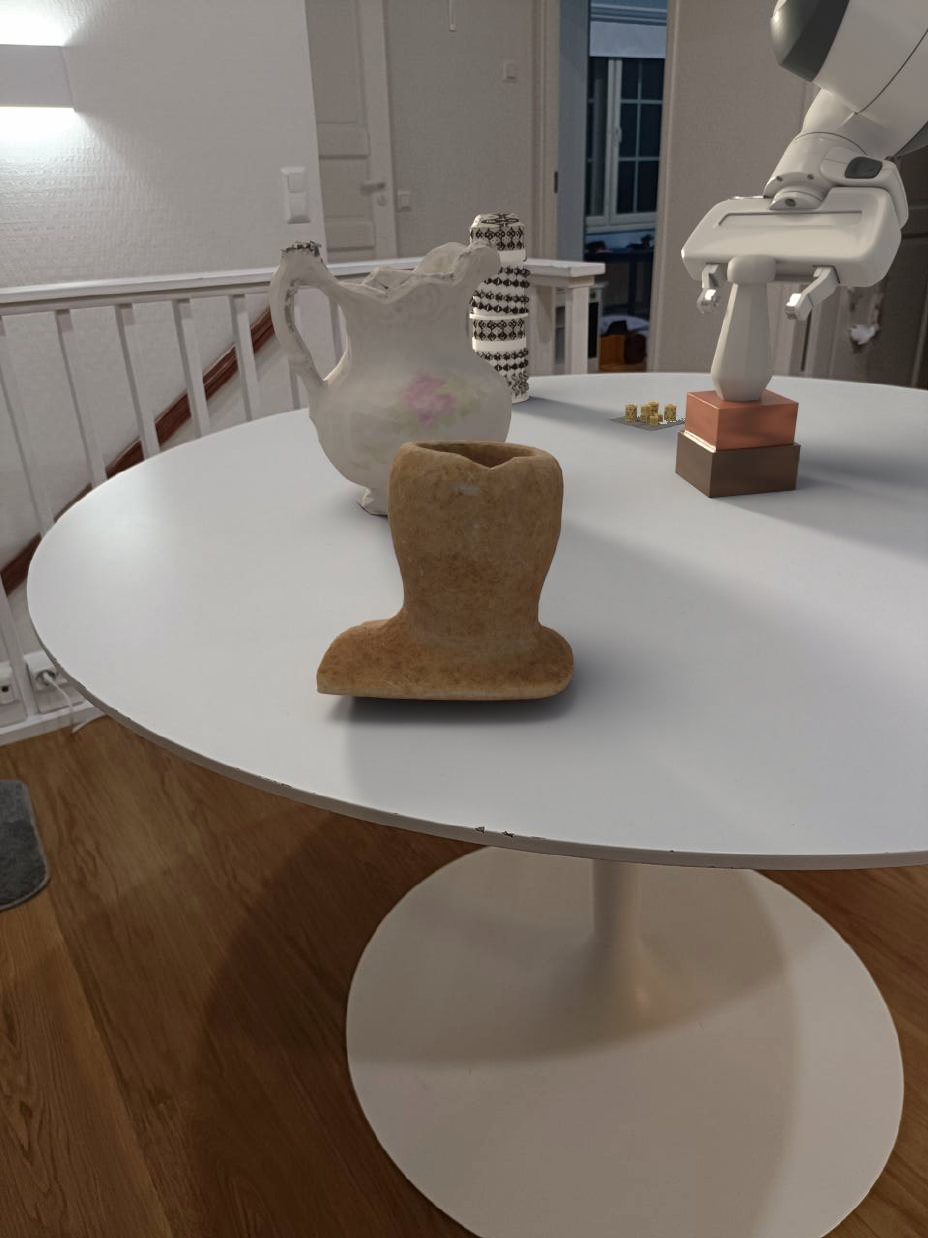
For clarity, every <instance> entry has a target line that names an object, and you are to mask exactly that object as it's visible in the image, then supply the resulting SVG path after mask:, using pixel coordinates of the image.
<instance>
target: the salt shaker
mask: <svg viewBox="0 0 928 1238" xmlns="http://www.w3.org/2000/svg"><path fill="white" fill-rule="evenodd" d="M775 273H776V261H775V260H774V259H773V257H771V256H768V255H762V254H751V255H741V256H737V257H734V258H733V259H732V260H731V261H730V262H729V265H728V269H727V278H728V281H727V282H729V283H732V286H731V290H730V294H729V298H728V303H727V306H726V310H725V315H724V318H723V321H722V325H721V330H720V333H719V337H718V341H717V344H716V348H715V353H714V356H713V360H712V363H711V368H710V377H711V380H712V383H713V386H714V388H715V389H714V390H716V392H717V395H718V397H720V398H721V399H723V400H730V401H741V402H743V401H752V400H759V398H760V396H761V394H762V393H763V391H764V390H765V389H766V388H767V386H768V385H769V383H770V381H771V380H772V379H773V375H774V366H773V354H772V353H773V352H772V342H771V341H772V340H771V332H770V331H771V330H770V317H769V300H768V284H769V283H768V282H770V281H773V280H774V277H775Z"/></svg>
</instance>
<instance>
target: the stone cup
mask: <svg viewBox="0 0 928 1238" xmlns="http://www.w3.org/2000/svg"><path fill="white" fill-rule="evenodd" d="M564 483H565V482H564V476H563V469H562V467H561V465H560V463H559V460H557V458H556V457H555V456H554V455H552V454H551V453H550V452H548V451H546V450H544V449H541V448H538V447H535V446H530V445H525V444H520V443H514V442H506V441H505V442H494V441H466V440H455V441H442V440H435V441H428V442H427V441H412V442H407V443H405V444H403V445H402V446H400V447H399V448H398V450H397V452H396V454H395V456H394V458H393V461H392V465H391V468H390V472H389V477H388V484H387V512H388V515H387V520H388V525H389V526H388V527H389V530H390V535H391V540H392V545H393V551H394V554H395V558H396V561H397V565H398V568H399V573H400V577H401V581H402V589H403V590H402V591H403V602H402V606H401V608H400V609H399V610H398V612H397V613H396V614H395V615H393V616H392V617H390V618H383V619H374V620H366V621H363V622H361V624H359V625H354V626H350V627H349V628H347V629H346V630H344V631H342V632H340V633H339V634H338V635H337V636H336V637H335V638H334V639H333V641H332V642H331V643H330V645H329V647H328V648H327V650H326V651H325V653H323V656H322V659H321V661H320V663H319V666H318V668H317V670H316V676H315V678H316V692H318V693H319V694H322V695H331V696H344V697H345V696H346V697H361V698H365V697H366V698H381V699H401V700H402V699H403V700H404V699H405V700H427V701H428V700H432V701H433V700H435V701H514V700H535V699H542V698H543V699H544V698H548V697H553V696H555V695H557V694H559V693H560V692H562V691H564V690H565V689H566V688H567V686H568V685H569V683H570V681H571V679H572V677H573V675H574V671H575V657H574V653H573V649H572V646H571V644H570V643H569V642H568V641H567V639H565V637H564V636H563V635H562V634H560V633H559V632H558V631H556V630H554V629H552V628H550V627H547V626H545V625H542V624H541V622H540V619H539V608H540V601H541V594H542V591H543V588H544V585H545V582H546V579H547V576H548V574H549V572H550V569H551V566H552V563H553V560H554V557H555V554H556V551H557V549H558V548H557V547H558V544H559V540H560V535H561V531H562V519H563V518H562V516H563V515H562V514H563V504H564V491H565V490H564V488H565V487H564V486H565V485H564Z"/></svg>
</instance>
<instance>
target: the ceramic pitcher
mask: <svg viewBox="0 0 928 1238" xmlns="http://www.w3.org/2000/svg"><path fill="white" fill-rule="evenodd" d="M322 246H323V245H322V244H321V243H318V242H314V241H312V240H309V242H306V241H305V242H302V241H299V240H296V241H295V243H294V244H292V242H287V247H286V248H285V249H284V248H283V249H282V248H281V249H280V251H281V256H280V259H279V263H278V265H277V267H276V268H275V270H274V272H273V273H272V275H271V277H270V283H269V288H268V301H269V309H270V317H271V322H272V326H273V330H274V335H275V338H276V340H277V342H278V343H279V345H280V347H281V349H282V351H283V353H284V355H285V358H286V359H287V361H288V363H289V365H290V367H291V369H292V371H293V372H294V374H296V375H297V376H298V378H300V380H301V382H302V384H303V385H304V388H305V391H306V399H307V407H308V418H309V419H310V421H311V422H312V424H313V426H314V427H315V430H316V435H317V439H318V443H319V444H320V446H321V448H322V451H323V453H324V454H325V456H326V458H327V460H328V461H329V462H330V463H331V464H332V465H333V467H334V468H335V469H336V470H337V471H338V473H339V474H340V475H341V476H342V477H343V478H345V480H347V481H349V482H351V483H354V484H355V485H358V486H361V487H365V488H367V489H366V491H365V493H364V495H363V496H362V497H360V499H358V500H357V502H358V504H359V505H360V506H361V507H362V508H363V509H364V510H365V511H366V512H367V513H368V514H371V515H381V516H388V512H387V484H388V477H389V472H390V468H391V465H392V461H393V458H394V456H395V454H396V452H397V450H398V448H399V447H400V446H402V445H403V444H405V443H407V442H412V441H427V442H428V441H435V440H442V441H455V440H466V441H494V442H505V443H506V442H507V438H508V434H509V431H510V427H511V420H512V414H513V413H512V412H513V411H512V410H513V403H512V397H511V391H510V389H509V386H508V384H507V381H506V379H505V378H504V377H503V376H502V375H501V374H500V373H499V372H498V371H497V370H496V369H494V368H493V367H492V366H491V365H490V364H489V363H488V362H487V361H486V360H484V359H483V358H481V357H480V356H479V355H478V354H477V353H476V352H475V351H474V350H473V346H472V345H471V343H470V341H469V338H468V334H467V330H466V318H467V313H468V309H469V306H470V304H469V302H470V300H471V298H472V296H473V294H474V292H475V290H476V289H477V288H478V286H479V285H480V284H481V283H482V282H483V281H485V280H487V279H488V278H490V277H491V276H493V275H496V274H498V272H499V271H500V269H501V261H500V255H499V253H498V252H497V245H496V244H492V243H489V242H487V241H483V240H482V238H479V239H478V240H476V241H475V242H473V243H471V244H470V243H469V245H468V246H467V245H465V244H463V243H459V242H456V241H455V242H454V241H449V242H446V243H445V244H442V245H440V246H437V247H434V248H432V249H431V250H430V251H429V252H427V254H425V256H424V257H423V258H422V260H421V261H420V263H419V264H418V265H417V266H416V267H415V268H414V269H413V270H412V269H411V270H410V269H397V268H395V267H392V266H388V265H383V264H382V265H380V266H378V267H376V268H374V269H372V271H371V272H370V273H368V275H367V276H366V277H365V278H364V279H363V281H362V282H361V283H352V282H351V283H349V282H344V281H342V280H341V281H340V280H339V279H338V278H337V277H336V276H334V274H333V273H332V272H331V271H330V270H329V268H328V267H327V264H326V263H325V261H324V259H323V258H322V257H321V253H320V248H322ZM499 247H500V246H499ZM301 286H302V287H303V286H307V287H308V286H309V287H314V288H315V289H317V290H319V291H320V292H321V293H323V294H324V296H326V297H327V298H328V299H330V300H333V301H334V302H335V303H336V304H337V305H338V307H339V311H340V314H341V317H342V320H343V325H344V330H345V334H346V339H345V351H344V353H343V354H342V356H341V357H340V359H339V361H338V363H337V365H336V366H335V367H334V368H333V369H332V370H331V371H330V372H329V373H328V374H327V375H326V377H325V378H322V377H321V375H320V373H319V371H318V369H317V367H316V365H315V363H314V360H313V359H314V358H313V357H312V354H311V352H310V350H309V348H308V345H307V344H306V343H305V341H304V339H303V337H302V335H301V334H300V332H299V330H298V328H297V325H296V319H295V295H296V291H297V290H298V289H299V288H300V287H301Z"/></svg>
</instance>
